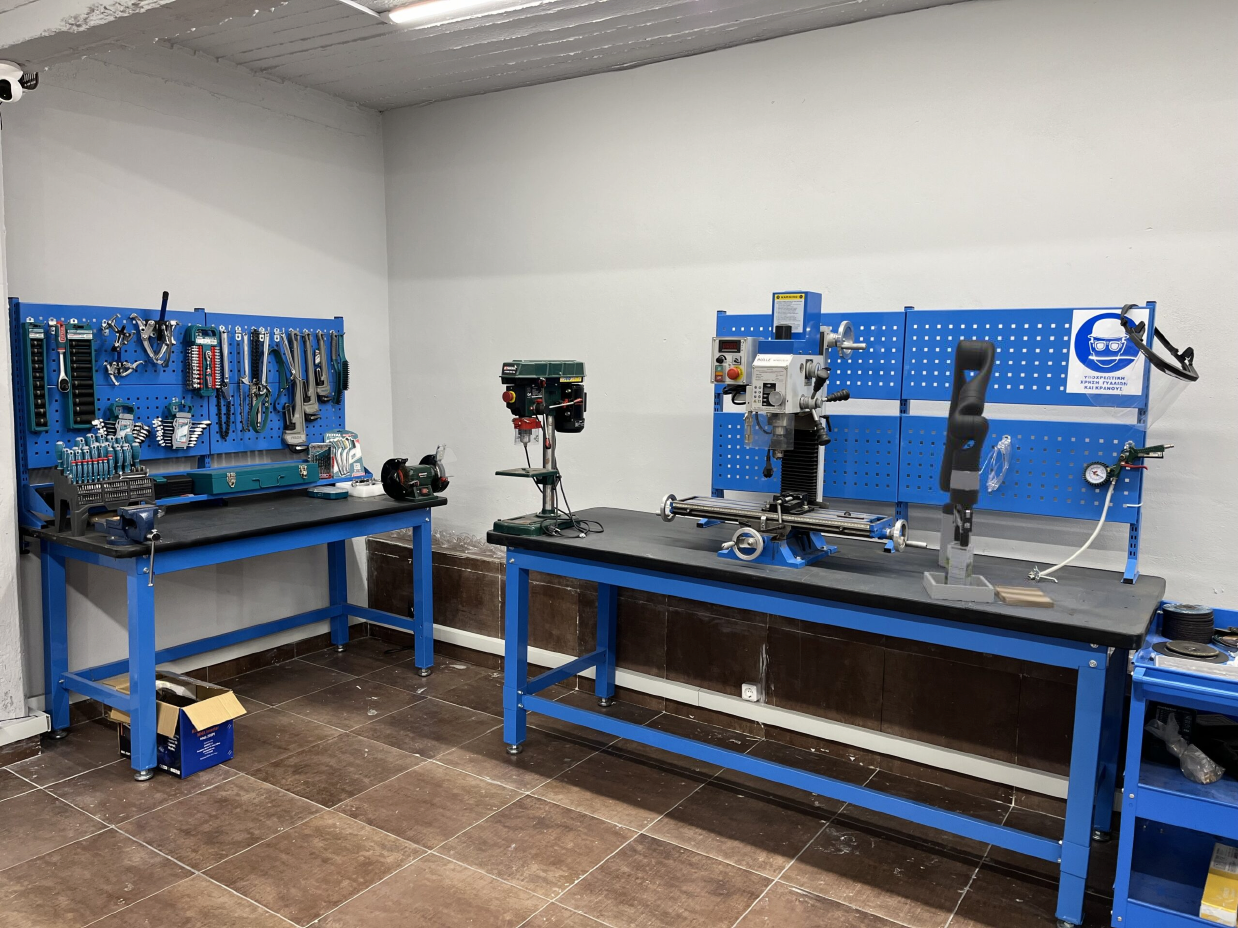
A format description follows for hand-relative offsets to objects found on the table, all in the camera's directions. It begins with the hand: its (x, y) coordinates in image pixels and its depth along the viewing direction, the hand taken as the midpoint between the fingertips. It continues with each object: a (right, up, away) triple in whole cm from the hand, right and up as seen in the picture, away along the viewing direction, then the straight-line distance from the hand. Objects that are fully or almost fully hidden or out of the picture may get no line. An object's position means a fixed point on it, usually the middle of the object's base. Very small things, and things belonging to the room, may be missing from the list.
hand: (960, 543), depth 246 cm
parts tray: (0, -14, +2) cm, 14 cm away
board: (+16, -15, -2) cm, 22 cm away
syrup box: (0, -15, +2) cm, 15 cm away
